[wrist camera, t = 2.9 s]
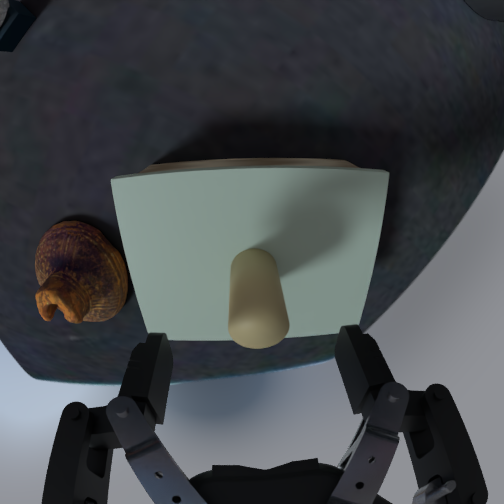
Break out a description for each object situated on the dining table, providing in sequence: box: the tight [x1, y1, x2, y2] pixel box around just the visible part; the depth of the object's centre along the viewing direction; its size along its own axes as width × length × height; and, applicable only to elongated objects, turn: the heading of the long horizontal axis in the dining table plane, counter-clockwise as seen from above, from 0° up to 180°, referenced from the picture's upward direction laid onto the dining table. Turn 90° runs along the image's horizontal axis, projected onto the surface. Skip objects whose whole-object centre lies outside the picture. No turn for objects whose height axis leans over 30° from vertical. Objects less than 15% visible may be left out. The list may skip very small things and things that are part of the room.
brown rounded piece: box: [35, 221, 128, 323], centre depth 22 cm, size 12×12×7 cm
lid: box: [111, 165, 389, 349], centre depth 16 cm, size 17×13×6 cm
